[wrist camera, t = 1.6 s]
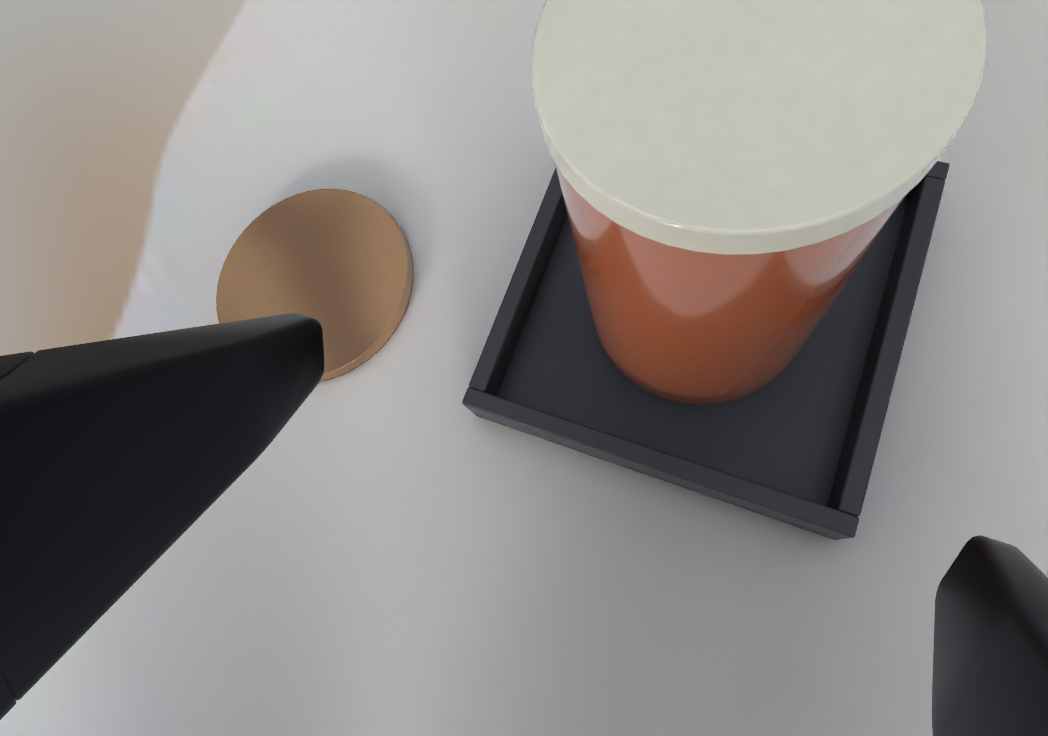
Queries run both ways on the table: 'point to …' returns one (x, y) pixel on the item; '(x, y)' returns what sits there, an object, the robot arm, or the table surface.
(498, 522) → the table surface
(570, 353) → the tray
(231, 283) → the coaster
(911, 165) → the canister
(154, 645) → the table surface
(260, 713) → the table surface
